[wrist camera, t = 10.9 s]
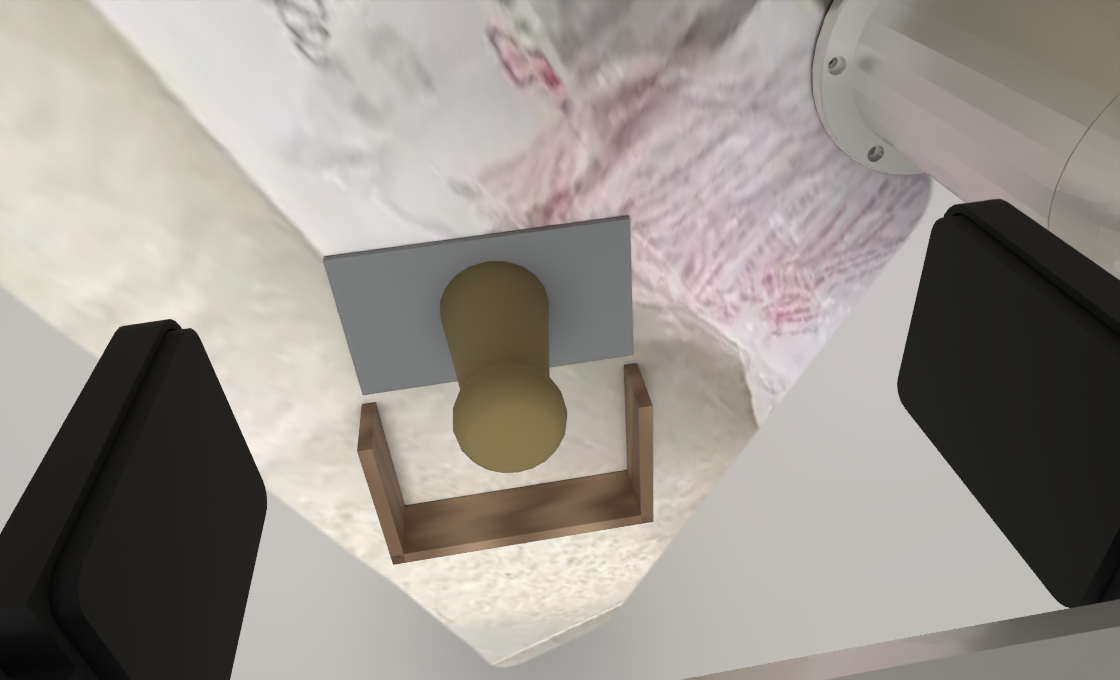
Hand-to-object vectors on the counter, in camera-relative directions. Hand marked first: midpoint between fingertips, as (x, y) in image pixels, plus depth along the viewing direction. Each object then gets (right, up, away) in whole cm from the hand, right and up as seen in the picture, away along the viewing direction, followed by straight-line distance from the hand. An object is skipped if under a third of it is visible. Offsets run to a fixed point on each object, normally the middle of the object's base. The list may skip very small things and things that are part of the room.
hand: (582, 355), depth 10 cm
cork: (-4, +2, +33) cm, 33 cm away
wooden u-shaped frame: (-3, -6, +39) cm, 39 cm away
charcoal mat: (-4, +2, +33) cm, 33 cm away
